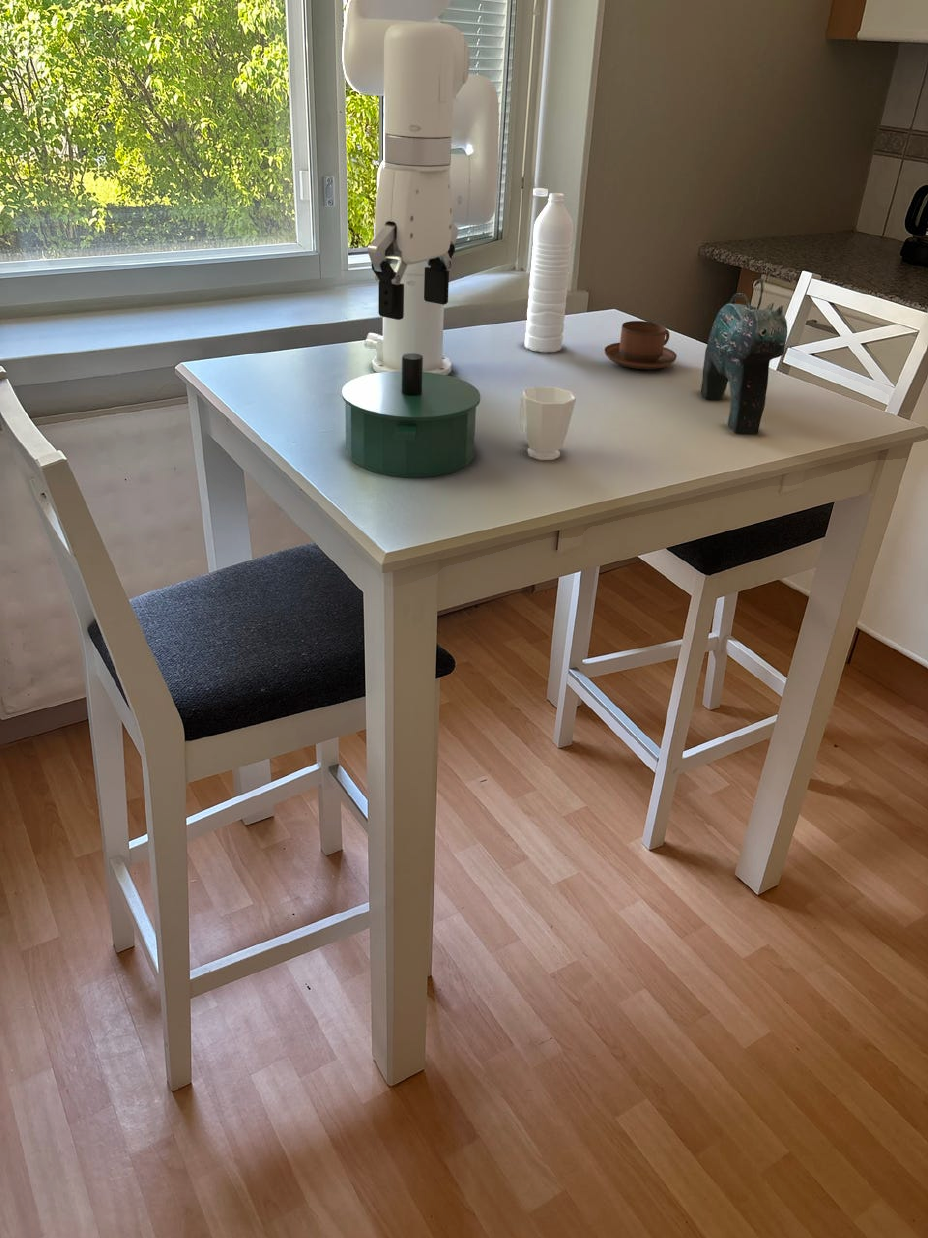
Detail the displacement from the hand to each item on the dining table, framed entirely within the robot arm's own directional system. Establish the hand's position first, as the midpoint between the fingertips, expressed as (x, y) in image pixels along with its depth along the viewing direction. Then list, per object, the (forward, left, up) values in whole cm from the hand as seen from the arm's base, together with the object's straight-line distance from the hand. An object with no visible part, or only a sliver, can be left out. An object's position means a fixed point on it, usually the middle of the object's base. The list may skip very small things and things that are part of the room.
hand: (414, 309), depth 118 cm
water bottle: (-9, +54, -19) cm, 58 cm away
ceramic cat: (+29, +41, -19) cm, 53 cm away
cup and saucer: (+9, +56, -19) cm, 60 cm away
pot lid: (0, 0, -11) cm, 11 cm away
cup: (+13, +11, -19) cm, 25 cm away
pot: (0, 0, -18) cm, 18 cm away
